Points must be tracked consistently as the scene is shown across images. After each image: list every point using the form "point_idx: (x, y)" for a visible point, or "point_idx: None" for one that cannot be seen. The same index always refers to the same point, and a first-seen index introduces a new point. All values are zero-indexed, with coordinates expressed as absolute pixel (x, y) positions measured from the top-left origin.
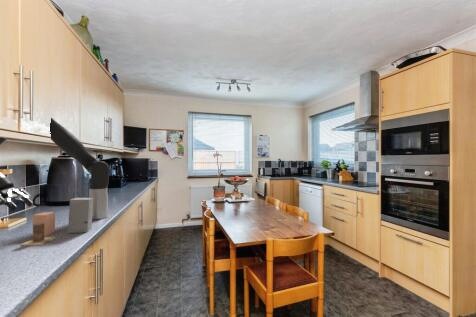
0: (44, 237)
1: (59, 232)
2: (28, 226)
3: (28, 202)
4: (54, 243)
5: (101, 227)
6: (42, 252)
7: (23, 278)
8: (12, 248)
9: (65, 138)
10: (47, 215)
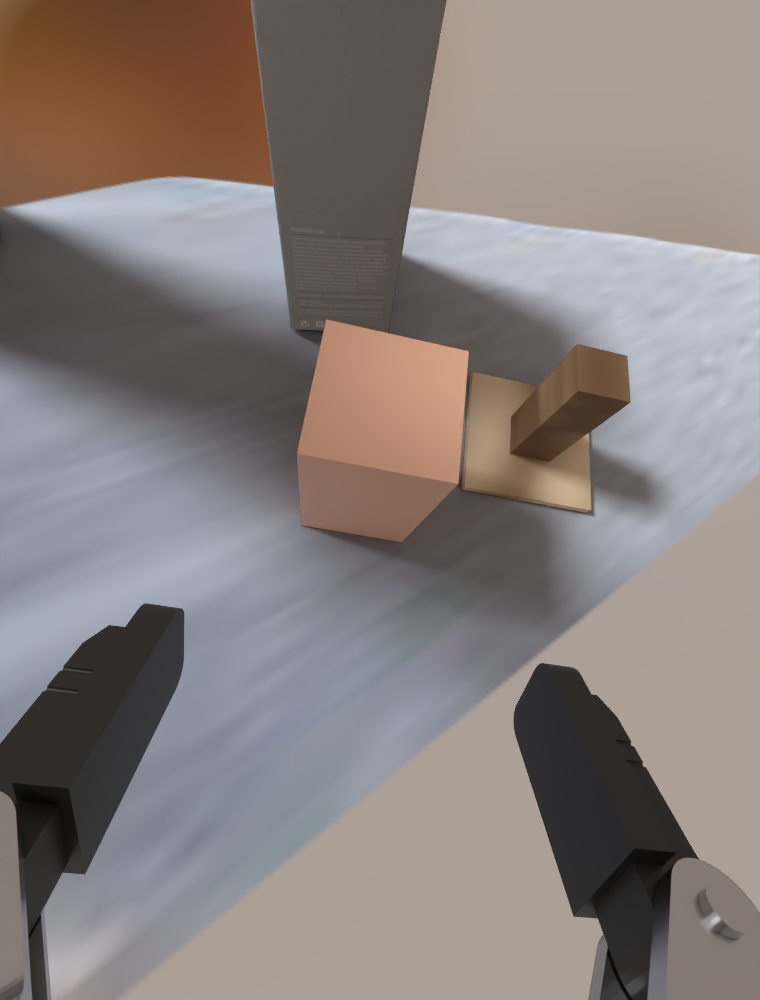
0: (473, 432)
1: None
2: None
3: (148, 700)
4: (556, 350)
5: None
6: (670, 356)
7: None
8: (626, 532)
9: None
10: (443, 354)
